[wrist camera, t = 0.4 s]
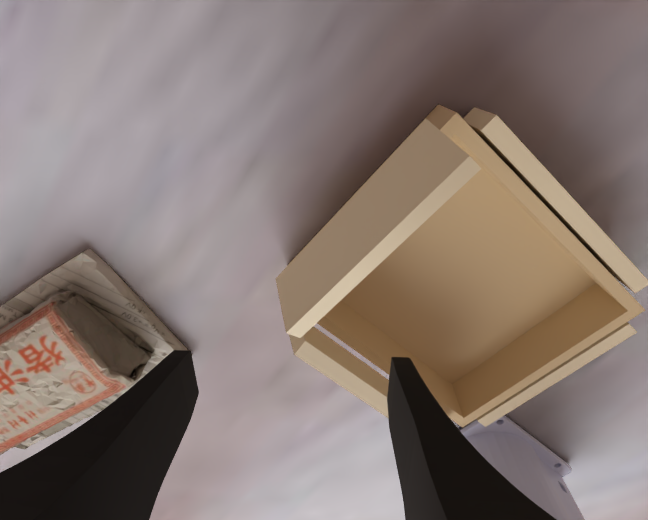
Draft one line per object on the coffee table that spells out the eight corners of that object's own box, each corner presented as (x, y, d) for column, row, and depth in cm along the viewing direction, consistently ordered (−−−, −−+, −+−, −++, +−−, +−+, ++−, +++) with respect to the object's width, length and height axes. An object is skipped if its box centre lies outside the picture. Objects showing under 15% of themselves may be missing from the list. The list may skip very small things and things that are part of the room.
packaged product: (-13, 493, 28) (-148, 407, 24) (34, 435, 32) (-74, 354, 29) (172, 405, 23) (39, 281, 19) (199, 351, 27) (94, 241, 24)
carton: (630, 276, 23) (674, 309, 20) (458, 393, 28) (473, 434, 25) (454, 87, 19) (476, 92, 16) (287, 265, 23) (279, 295, 20)
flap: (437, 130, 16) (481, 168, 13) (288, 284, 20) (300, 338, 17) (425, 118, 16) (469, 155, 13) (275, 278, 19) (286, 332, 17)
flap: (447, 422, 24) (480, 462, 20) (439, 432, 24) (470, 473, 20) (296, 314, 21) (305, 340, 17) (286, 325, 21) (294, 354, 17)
